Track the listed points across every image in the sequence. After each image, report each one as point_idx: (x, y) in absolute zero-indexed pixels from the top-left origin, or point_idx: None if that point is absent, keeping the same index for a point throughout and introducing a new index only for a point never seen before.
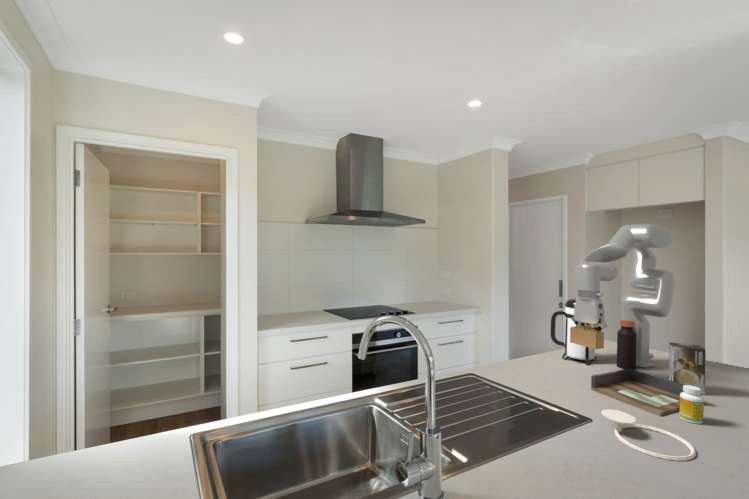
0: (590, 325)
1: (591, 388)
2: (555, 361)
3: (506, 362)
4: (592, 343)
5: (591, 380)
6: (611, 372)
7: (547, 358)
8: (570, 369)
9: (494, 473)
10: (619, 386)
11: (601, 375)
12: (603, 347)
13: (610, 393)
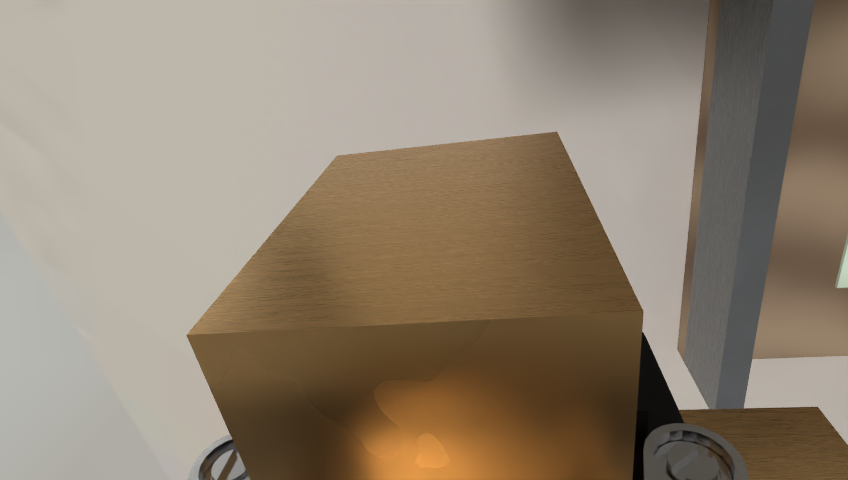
0: (360, 473)
1: (682, 354)
2: (114, 116)
3: (152, 433)
4: None
5: (701, 392)
6: (756, 213)
7: (35, 119)
8: (316, 160)
9: None
10: (788, 176)
11: (752, 353)
12: (820, 417)
13: (821, 349)
